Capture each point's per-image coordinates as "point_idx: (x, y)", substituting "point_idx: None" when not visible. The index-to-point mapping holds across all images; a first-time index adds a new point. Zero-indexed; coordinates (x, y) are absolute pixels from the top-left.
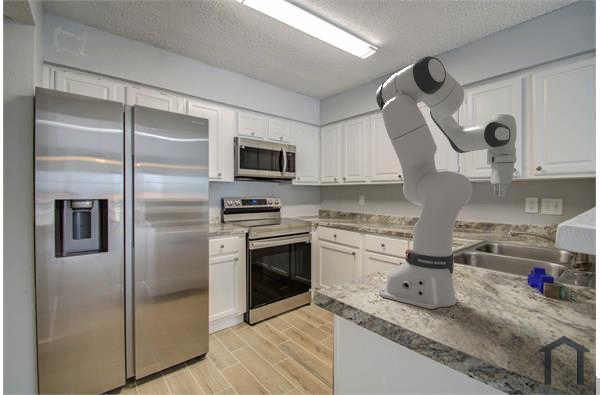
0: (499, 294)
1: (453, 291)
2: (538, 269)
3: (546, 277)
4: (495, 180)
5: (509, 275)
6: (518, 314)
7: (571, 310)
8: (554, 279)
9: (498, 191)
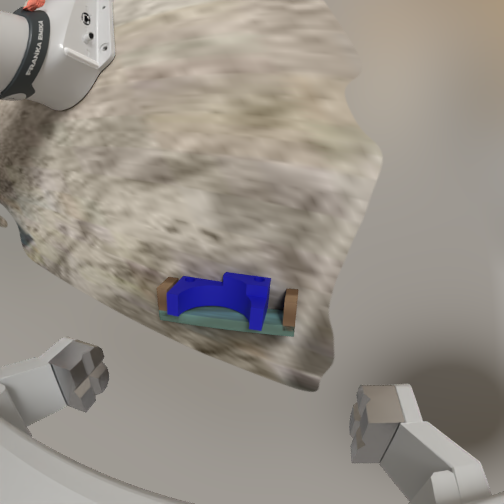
0: (133, 186)
1: (45, 104)
2: (250, 314)
3: (167, 300)
4: (7, 470)
5: (321, 250)
6: (60, 201)
7: (116, 290)
8: (207, 322)
9: (356, 445)
